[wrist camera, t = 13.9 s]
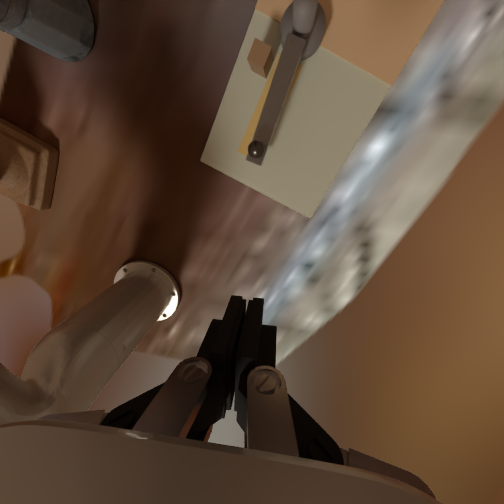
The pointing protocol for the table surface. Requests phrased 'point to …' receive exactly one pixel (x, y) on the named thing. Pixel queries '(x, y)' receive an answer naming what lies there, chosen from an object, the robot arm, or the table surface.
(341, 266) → the table surface
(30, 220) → the table surface
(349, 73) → the door and jamb board
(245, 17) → the table surface
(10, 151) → the candle holder
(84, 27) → the moka pot
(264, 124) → the swing bar
